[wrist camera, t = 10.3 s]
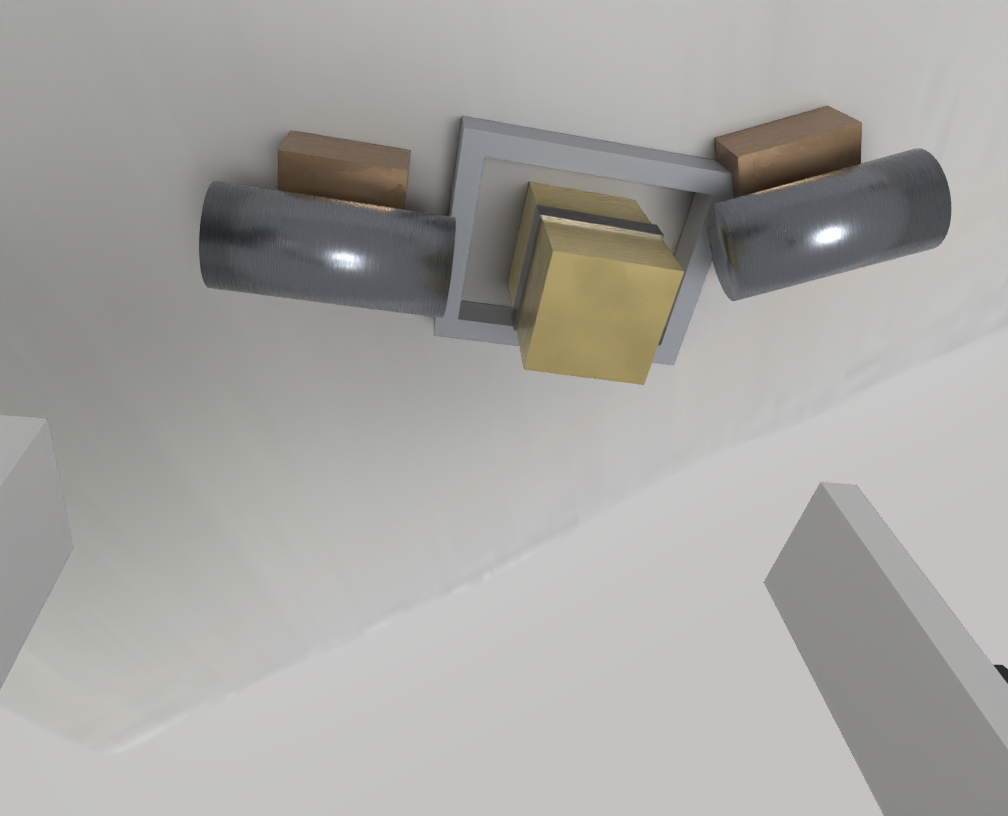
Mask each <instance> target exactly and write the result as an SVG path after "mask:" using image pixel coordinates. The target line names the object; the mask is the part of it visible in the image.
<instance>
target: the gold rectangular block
mask: <svg viewBox="0 0 1008 816" xmlns="http://www.w3.org/2000/svg"><path fill="white" fill-rule="evenodd" d="M663 237H664V235H663V233H662V232H661V231H660V229H659V228H658V226H657V225H654V224H651V222H650V221H649V219H648V218H647V217H646V215H645V214H644V212H643V211H642V209H641V208H640V206H639V205H638V203H637V202H636V200H631V199H625V198H619V197H614V196H608V195H602V194H597V193H591V192H585V191H579V190H574V189H568V188H562V187H557V186H551V185H545V184H540V183H534V182H529V186H528V191H527V196H526V200H525V205H524V210H523V214H522V219H521V224H520V228H519V233H518V238H517V242H516V247H515V252H514V256H513V261H512V266H511V270H510V275H509V280H508V288H509V293H510V298H511V304H512V309H513V311H512V316H511V319H512V325H513V330H516V331H517V335H518V341H519V346H520V351H521V356H522V362H523V367H524V369H525V370H533V371H541V372H549V373H556V374H564V375H572V376H580V377H587V378H595V379H603V380H610V381H618V382H626V383H634V384H641V385H644V383H645V380H646V377H647V375H648V372H649V369H650V366H651V363H652V361H653V358H654V355H655V352H656V349H657V347H658V344H659V341H660V338H661V335H662V333H663V330H664V327H665V324H666V321H667V319H668V316H669V313H670V310H671V307H672V305H673V302H674V299H675V296H676V293H677V291H678V288H679V285H680V282H681V279H682V277H683V274H684V270H683V269H682V268H681V266H680V265H679V263H678V262H677V260H676V259H675V257H674V256H673V254H672V253H671V252H670V250H669V249H668V247H667V246H666V244H665V243H664V241H663Z"/></svg>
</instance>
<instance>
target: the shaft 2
mask: <svg viewBox="0 0 1008 816" xmlns="http://www.w3.org/2000/svg"><path fill="white" fill-rule="evenodd" d="M861 133H862V122H860V121H858V120H856V119H854V118H852V117H850V116H848V115H846V114H844V113H842V112H840V111H838V110H836V109H834V108H832V107H830V106H827V107H823V108H819V109H816V110H812V111H809V112H805V113H802V114H798V115H795V116H791V117H788V118H784V119H781V120H777V121H773V122H770V123H766V124H763V125H759V126H756V127H752V128H749V129H745V130H742V131H738V132H735V133H731V134H727V135H724V136H720V137H717V138H715V148H716V159H717V161H718V162H719V163H720V164H721V165H722V166H723V167H724V168H726V169H727V170H728V171H729V172H730V173H731V174H732V186H733V199H730V200H727V201H723V202H719V203H716V204H713V205H711V207H710V209H709V213H708V237H709V245H710V250H711V255H712V260H713V264H714V267H715V270H716V274H717V276H718V279H719V282H720V284H721V286H722V288H723V290H724V292H725V294H726V295H727V296H728V298H729V299H730V300H732V301H736V300H740V299H744V298H748V297H751V296H755V295H759V294H763V293H767V292H770V291H774V290H778V289H782V288H786V287H789V286H793V285H797V284H801V283H805V282H808V281H812V280H816V279H820V278H824V277H827V276H831V275H835V274H839V273H843V272H846V271H850V270H854V269H858V268H862V267H865V266H869V265H873V264H877V263H881V262H884V261H888V260H892V259H896V258H900V257H903V256H907V255H911V254H915V253H919V252H922V251H926V250H930V249H933V248H936V247H937V246H939V245H940V244H941V243H942V241H943V240H944V239H945V237H946V235H947V232H948V229H949V225H950V219H951V197H950V191H949V187H948V183H947V180H946V177H945V174H944V172H943V170H942V168H941V166H940V164H939V163H938V161H937V160H936V159H935V158H934V156H933V155H931V154H930V153H929V152H927V151H926V150H923V149H912V150H908V151H905V152H901V153H898V154H894V155H890V156H887V157H883V158H879V159H876V160H872V161H869V162H865V163H861Z"/></svg>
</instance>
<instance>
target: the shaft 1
mask: <svg viewBox="0 0 1008 816" xmlns="http://www.w3.org/2000/svg"><path fill="white" fill-rule="evenodd" d="M410 152H411V150H406V149H400V148H394V147H388V146H382V145H376V144H370V143H364V142H358V141H352V140H346V139H340V138H333V137H327V136H321V135H315V134H309V133H303V132H297V131H291V132H290V133H289V135H288V136H287V138H286V139H285V141H284V142H283V144H282V145H281V147H280V148H279V150H278V190H272V189H266V188H259V187H253V186H246V185H239V184H233V183H226V182H220V181H214V182H213V183H212V184H211V185H210V187H209V189H208V191H207V194H206V197H205V200H204V205H203V210H202V216H201V223H200V237H199V256H200V267H201V273H202V277H203V280H204V283H205V285H206V286H207V287H208V288H213V289H221V290H229V291H237V292H244V293H252V294H260V295H268V296H276V297H283V298H291V299H299V300H307V301H315V302H322V303H330V304H338V305H346V306H354V307H361V308H369V309H377V310H385V311H393V312H400V313H408V314H416V315H424V316H432V317H439V318H443V317H444V314H445V310H446V306H447V300H448V294H449V288H450V281H451V274H452V266H453V257H454V247H455V233H456V218H455V217H451V216H444V215H437V214H431V213H424V212H418V211H411V210H404V207H405V198H406V188H407V179H408V170H409V161H410Z"/></svg>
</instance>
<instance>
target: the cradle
mask: <svg viewBox="0 0 1008 816" xmlns="http://www.w3.org/2000/svg"><path fill="white" fill-rule="evenodd" d="M485 157H487V158H493V159H499V160H505V161H511V162H517V163H523V164H529V165H535V166H541V167H547V168H553V169H559V170H565V171H571V172H577V173H583V174H589V175H595V176H601V177H607V178H613V179H619V180H625V181H631V182H637V183H643V184H649V185H655V186H661V187H667V188H673V189H679V190H685V191H691V192H695V195H694V198H693V201H692V204H691V207H690V210H689V213H688V216H687V219H686V222H685V225H684V228H683V231H682V234H681V237H680V240H679V243H678V246H677V249H676V252H675V255H674V257H675V259H676V260H677V262H678V263H679V265H680V266H681V268H682V269H683V270H684V274H683V277H682V279H681V282H680V285H679V288H678V291H677V293H676V296H675V299H674V302H673V305H672V307H671V310H670V313H669V316H668V319H667V321H666V324H665V327H664V330H663V333H662V335H661V338H660V341H659V344H658V347H657V349H656V352H655V355H654V358H653V361H652V363H660V364H668V365H674V364H675V361H676V358H677V355H678V353H679V350H680V347H681V344H682V341H683V339H684V336H685V333H686V330H687V328H688V325H689V322H690V319H691V317H692V314H693V311H694V308H695V306H696V303H697V300H698V297H699V295H700V292H701V289H702V286H703V284H704V281H705V278H706V275H707V273H708V270H709V267H710V264H711V262H712V255H711V250H710V245H709V237H708V213H709V209H710V207H711V205H713V204H716V203H719V202H723V201H727V200H730V199H733V186H732V174H731V173H730V172H729V171H728V170H727V169H726V168H724V167H723V166H722V165H721V164H720V163H719V162H718V161H716V160H711V159H705V158H699V157H694V156H688V155H682V154H676V153H671V152H665V151H659V150H654V149H648V148H642V147H636V146H631V145H625V144H619V143H614V142H608V141H602V140H596V139H591V138H585V137H579V136H574V135H568V134H562V133H556V132H551V131H545V130H539V129H534V128H528V127H522V126H516V125H511V124H505V123H499V122H494V121H488V120H482V119H476V118H471V117H465V116H463V117H462V124H461V131H460V138H459V145H458V152H457V159H456V166H455V173H454V180H453V187H452V194H451V201H450V208H449V215H448V216H451V217H455V218H456V233H455V247H454V257H453V266H452V274H451V281H450V288H449V294H448V300H447V306H446V310H445V314H444V317H443V318H439V317H434V336H442V337H450V338H458V339H466V340H474V341H482V342H490V343H498V344H506V345H514V346H519V341H518V335H517V331H516V330H513V325H512V319H511V316H512V311H513V309H512V308H510V307H503V306H495V305H488V304H480V303H473V302H465V301H461V298H462V292H463V286H464V279H465V273H466V267H467V261H468V255H469V249H470V243H471V237H472V231H473V225H474V219H475V213H476V207H477V201H478V194H479V188H480V182H481V176H482V170H483V164H484V158H485Z"/></svg>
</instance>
